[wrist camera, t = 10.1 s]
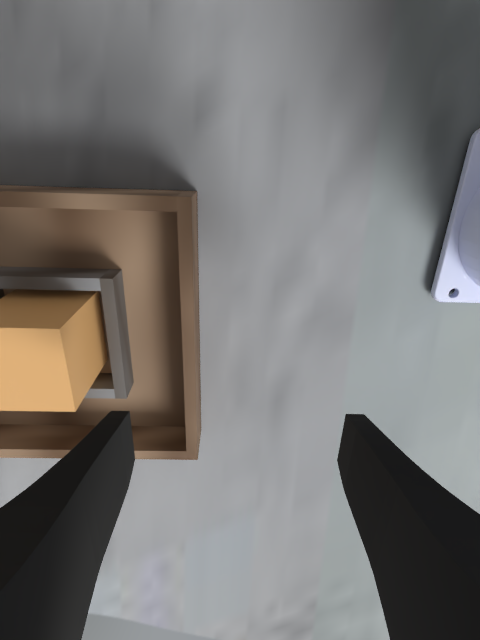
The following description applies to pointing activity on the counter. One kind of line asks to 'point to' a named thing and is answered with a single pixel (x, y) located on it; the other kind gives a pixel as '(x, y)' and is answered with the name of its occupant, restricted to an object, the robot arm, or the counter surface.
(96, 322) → the plug
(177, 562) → the counter surface
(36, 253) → the box
